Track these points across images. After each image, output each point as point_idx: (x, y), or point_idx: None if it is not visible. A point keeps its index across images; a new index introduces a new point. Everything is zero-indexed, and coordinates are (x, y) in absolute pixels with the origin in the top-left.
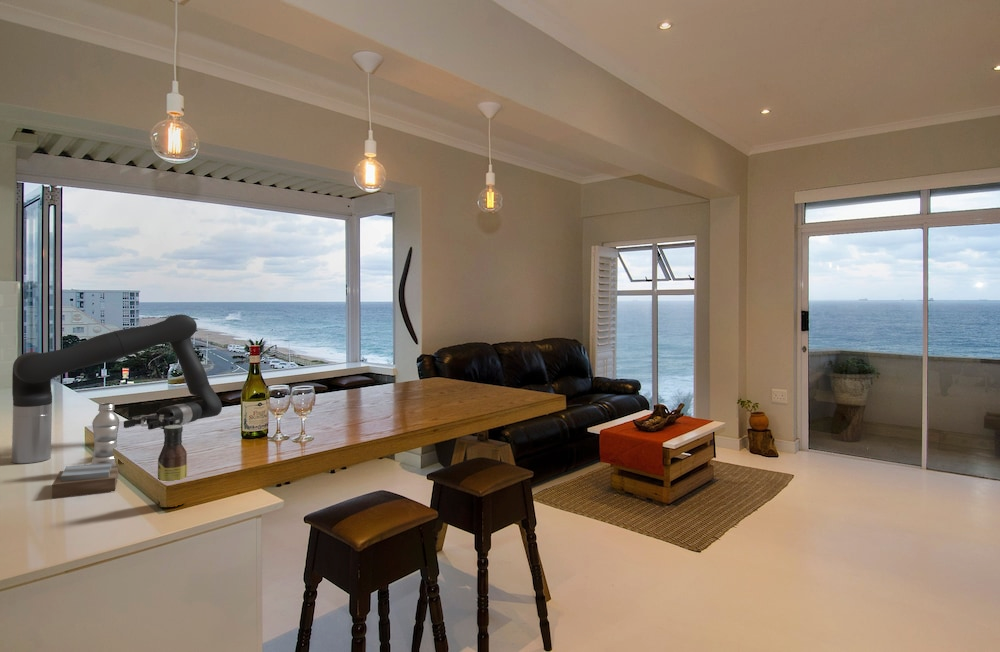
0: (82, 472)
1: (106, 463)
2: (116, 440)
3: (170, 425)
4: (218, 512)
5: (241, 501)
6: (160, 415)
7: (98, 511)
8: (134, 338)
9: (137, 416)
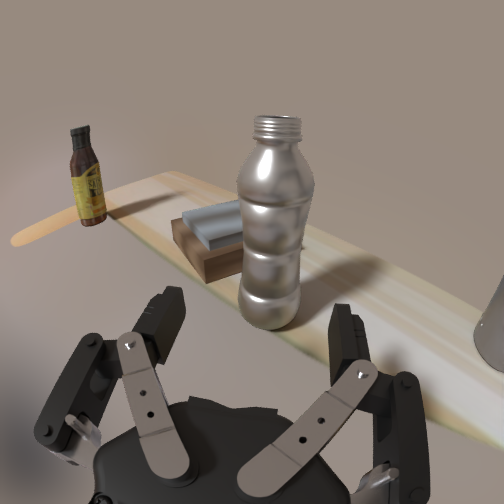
0: (221, 208)
1: (214, 236)
2: (246, 248)
3: (82, 126)
4: (58, 216)
5: (34, 233)
6: (167, 428)
7: (163, 207)
8: None
9: (402, 427)
